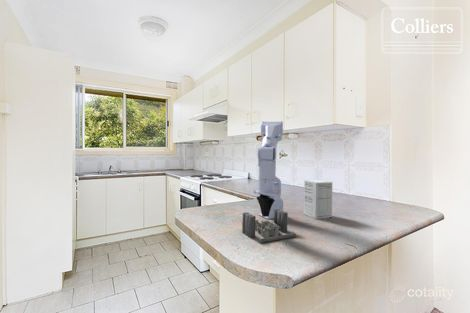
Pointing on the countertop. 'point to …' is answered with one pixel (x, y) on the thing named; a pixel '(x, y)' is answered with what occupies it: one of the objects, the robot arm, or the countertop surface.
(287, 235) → the dark grey rod
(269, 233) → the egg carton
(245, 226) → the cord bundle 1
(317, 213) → the supplement box
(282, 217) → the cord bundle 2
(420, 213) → the countertop surface
